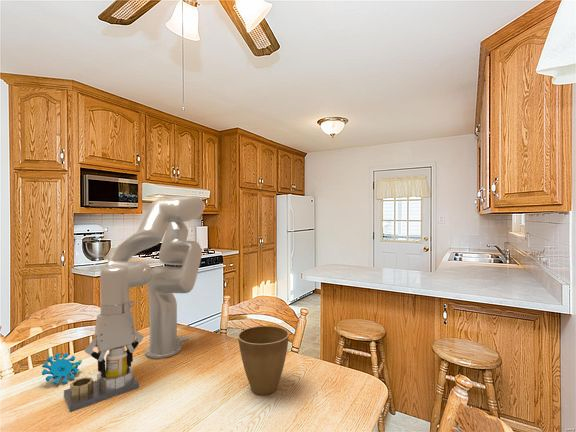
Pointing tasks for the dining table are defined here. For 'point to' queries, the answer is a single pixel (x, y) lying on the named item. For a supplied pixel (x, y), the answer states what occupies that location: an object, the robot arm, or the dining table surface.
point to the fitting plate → (98, 389)
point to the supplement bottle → (116, 363)
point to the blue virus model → (61, 368)
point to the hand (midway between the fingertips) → (115, 368)
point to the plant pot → (263, 356)
